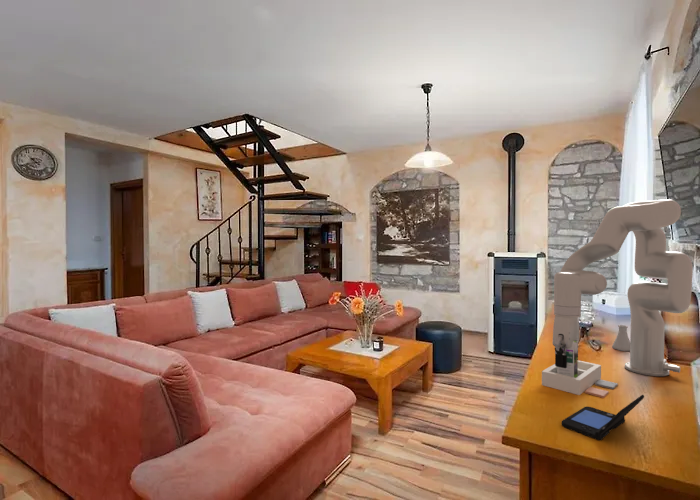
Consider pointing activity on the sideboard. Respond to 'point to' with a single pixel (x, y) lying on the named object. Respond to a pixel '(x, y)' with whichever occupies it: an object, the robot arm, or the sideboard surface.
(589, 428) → the game console
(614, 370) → the sideboard surface
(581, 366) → the socket block
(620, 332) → the flask
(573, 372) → the syrup box
